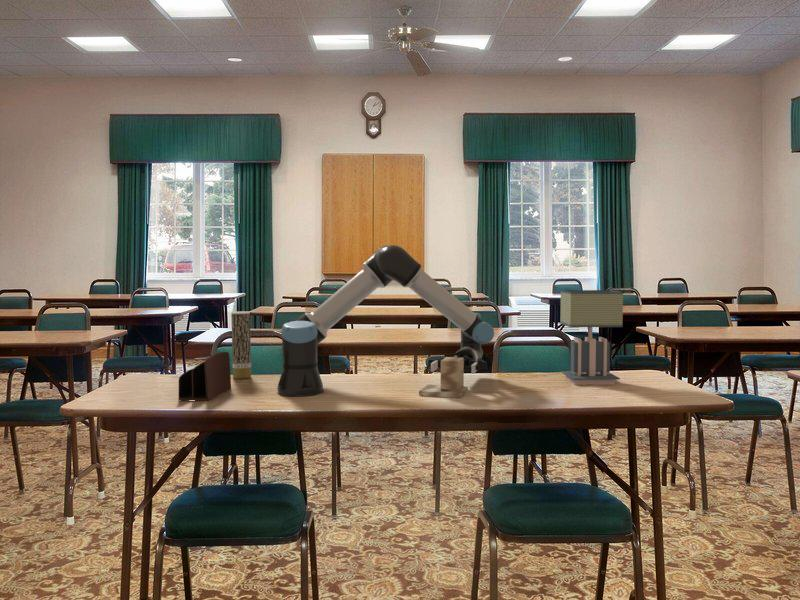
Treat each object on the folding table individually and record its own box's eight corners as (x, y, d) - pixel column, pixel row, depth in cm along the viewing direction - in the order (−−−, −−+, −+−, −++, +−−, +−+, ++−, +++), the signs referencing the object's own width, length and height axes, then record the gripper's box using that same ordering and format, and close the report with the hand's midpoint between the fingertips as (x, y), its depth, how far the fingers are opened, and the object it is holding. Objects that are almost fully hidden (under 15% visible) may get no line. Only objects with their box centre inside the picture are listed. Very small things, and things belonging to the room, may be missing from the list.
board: (418, 395, 203) (418, 390, 203) (427, 388, 214) (427, 384, 214) (461, 398, 199) (461, 393, 199) (467, 391, 209) (467, 386, 209)
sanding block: (440, 391, 202) (440, 360, 202) (446, 386, 210) (446, 357, 209) (458, 392, 201) (458, 361, 200) (463, 387, 208) (463, 357, 208)
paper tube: (231, 377, 237) (229, 311, 236) (248, 375, 241) (247, 311, 239) (235, 380, 231) (233, 313, 230) (253, 378, 235) (251, 312, 233)
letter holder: (231, 389, 216) (230, 349, 215) (208, 402, 196) (207, 358, 195) (203, 388, 217) (202, 348, 216) (178, 401, 197) (176, 357, 196)
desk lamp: (608, 377, 232) (609, 290, 230) (622, 385, 218) (623, 292, 216) (559, 377, 232) (560, 290, 230) (569, 385, 218) (570, 292, 216)
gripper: (500, 370, 220) (489, 382, 199) (431, 367, 227) (415, 377, 207) (500, 349, 219) (490, 358, 199) (431, 346, 227) (415, 355, 207)
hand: (451, 368), depth 203 cm, fingers open, 13 cm apart
